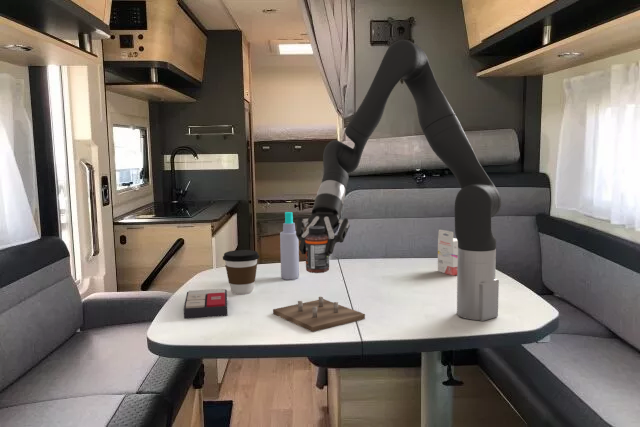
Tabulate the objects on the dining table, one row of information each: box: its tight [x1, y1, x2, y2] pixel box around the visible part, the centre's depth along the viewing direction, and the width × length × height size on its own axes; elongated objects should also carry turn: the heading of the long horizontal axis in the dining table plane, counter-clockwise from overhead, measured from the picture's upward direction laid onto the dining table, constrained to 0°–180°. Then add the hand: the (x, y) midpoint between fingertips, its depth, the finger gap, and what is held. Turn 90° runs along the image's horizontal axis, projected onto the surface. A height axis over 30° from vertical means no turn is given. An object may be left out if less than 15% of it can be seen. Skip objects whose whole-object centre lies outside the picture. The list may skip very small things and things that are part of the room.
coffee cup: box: [222, 249, 260, 295], centre depth 164 cm, size 11×11×12 cm
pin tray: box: [272, 296, 366, 333], centre depth 139 cm, size 18×16×4 cm
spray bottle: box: [279, 211, 300, 281], centre depth 180 cm, size 6×6×22 cm
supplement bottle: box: [305, 226, 330, 274], centre depth 137 cm, size 6×6×11 cm
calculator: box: [183, 288, 228, 319], centre depth 147 cm, size 11×4×15 cm
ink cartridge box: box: [437, 229, 458, 277], centre depth 185 cm, size 9×5×15 cm, turn 25°
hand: (315, 253), depth 136 cm, fingers closed on supplement bottle, 6 cm apart
